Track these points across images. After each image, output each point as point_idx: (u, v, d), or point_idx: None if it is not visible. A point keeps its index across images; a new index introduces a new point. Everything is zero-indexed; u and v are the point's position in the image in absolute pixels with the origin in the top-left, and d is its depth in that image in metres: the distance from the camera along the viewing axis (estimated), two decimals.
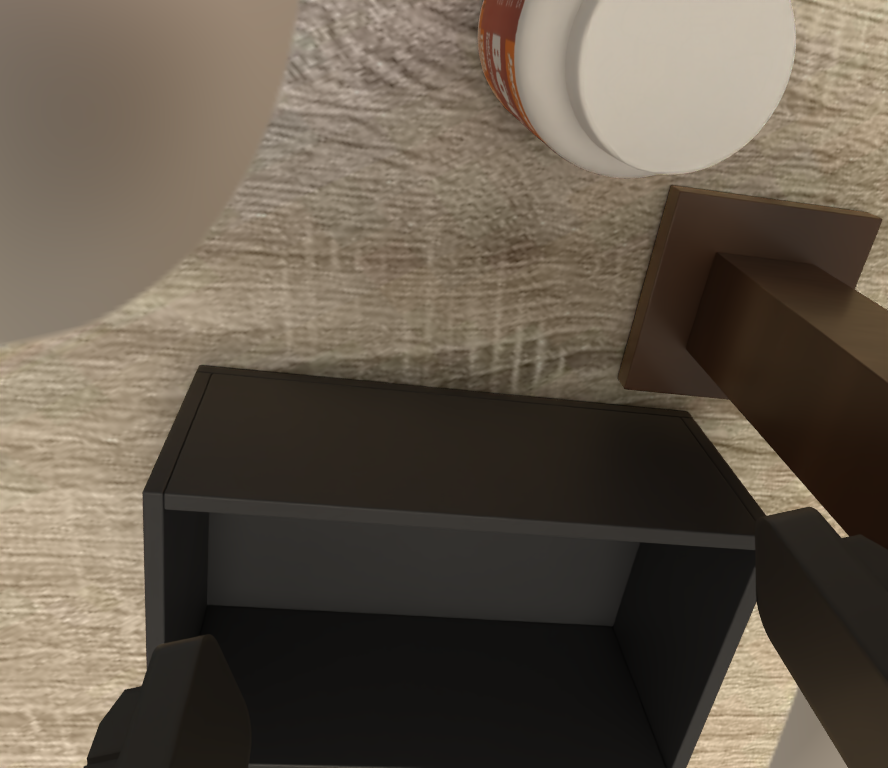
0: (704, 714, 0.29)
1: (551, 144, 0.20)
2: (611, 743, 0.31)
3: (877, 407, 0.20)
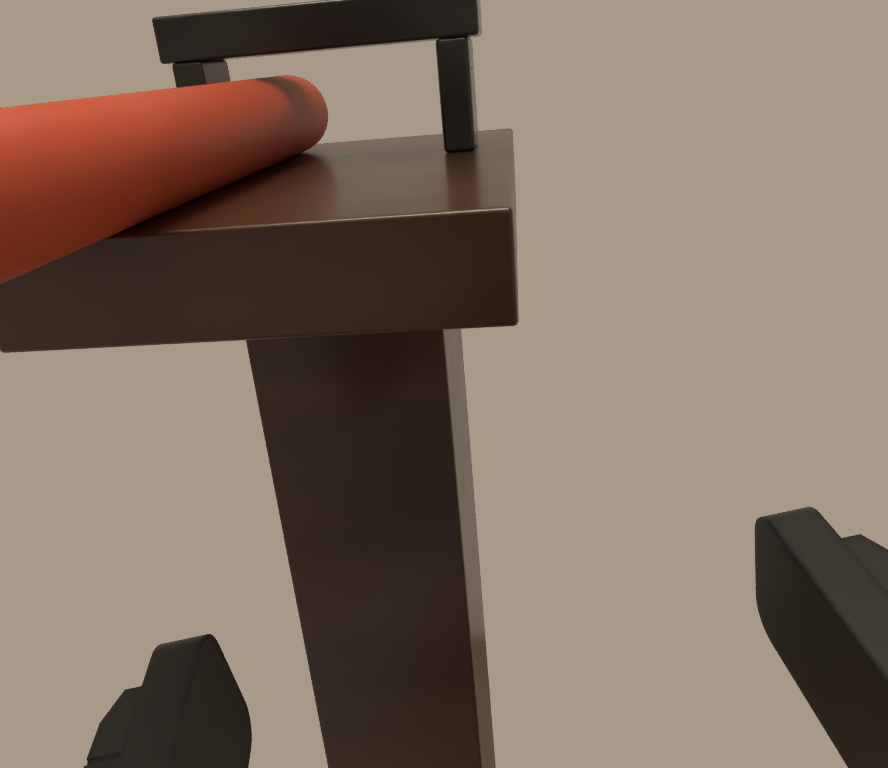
0: None
1: None
2: None
3: None
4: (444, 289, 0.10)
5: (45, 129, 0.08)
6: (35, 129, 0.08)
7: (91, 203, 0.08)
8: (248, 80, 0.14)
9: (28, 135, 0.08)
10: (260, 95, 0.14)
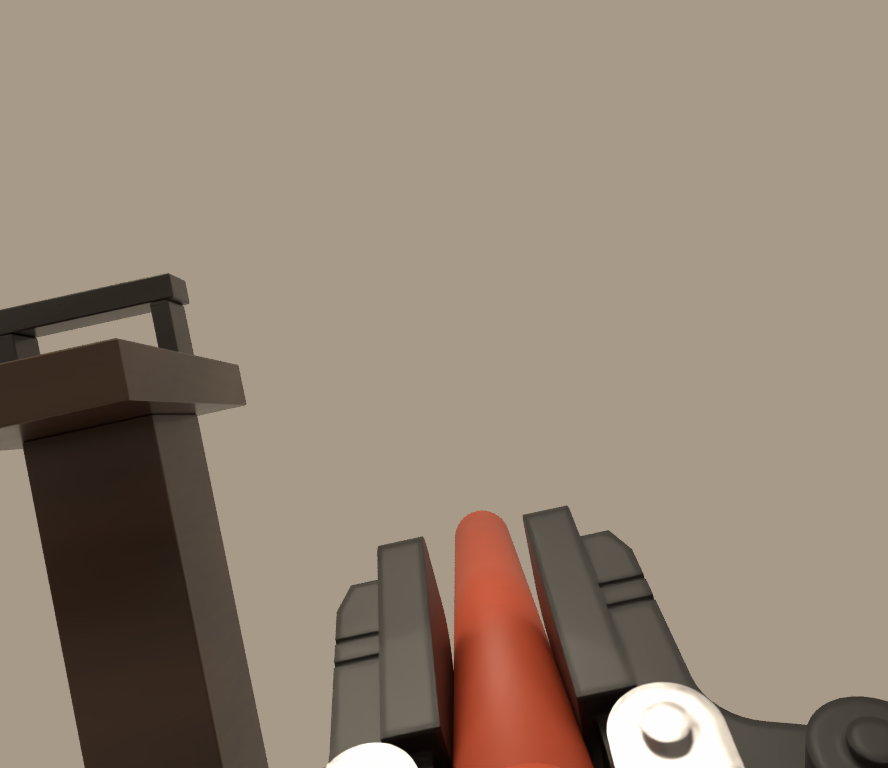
0: None
1: None
2: None
3: None
4: (87, 385, 0.18)
5: None
6: None
7: None
8: None
9: None
10: None
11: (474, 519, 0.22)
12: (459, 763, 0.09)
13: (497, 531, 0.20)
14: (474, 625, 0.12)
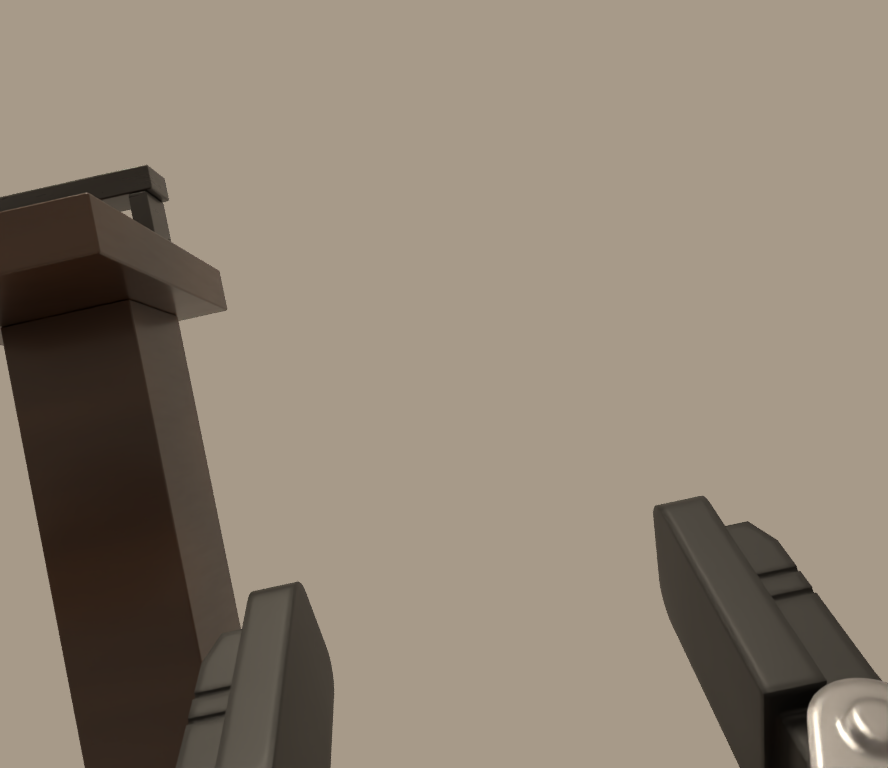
0: None
1: None
2: None
3: None
4: (59, 238, 0.18)
5: None
6: None
7: None
8: None
9: None
10: None
11: None
12: None
13: None
14: None
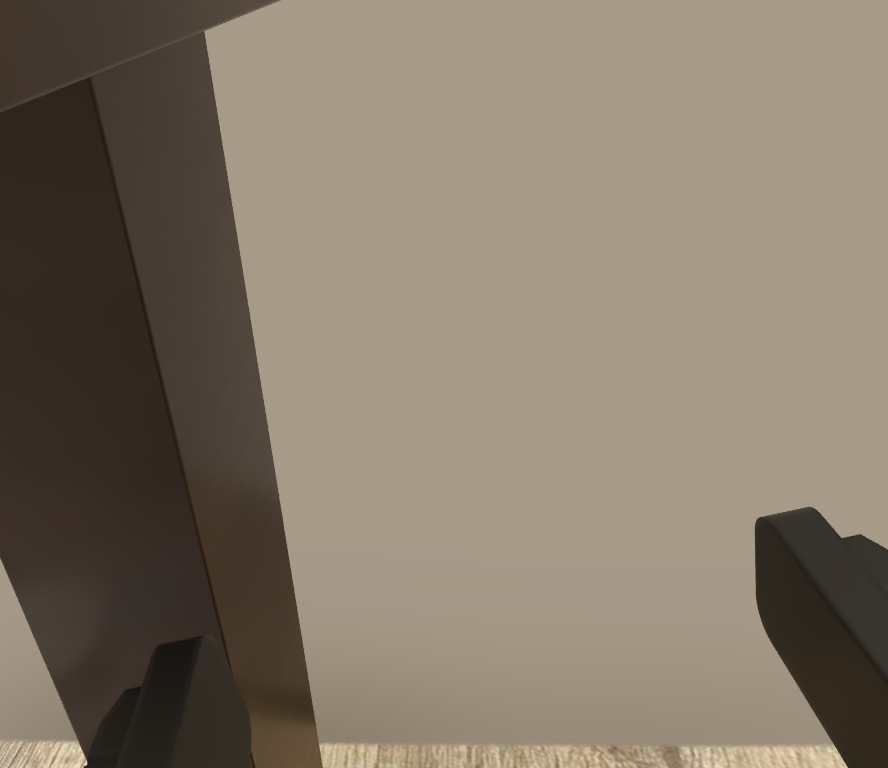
0: None
1: None
2: None
3: None
4: None
5: None
6: None
7: None
8: None
9: None
10: None
11: None
12: None
13: None
14: None
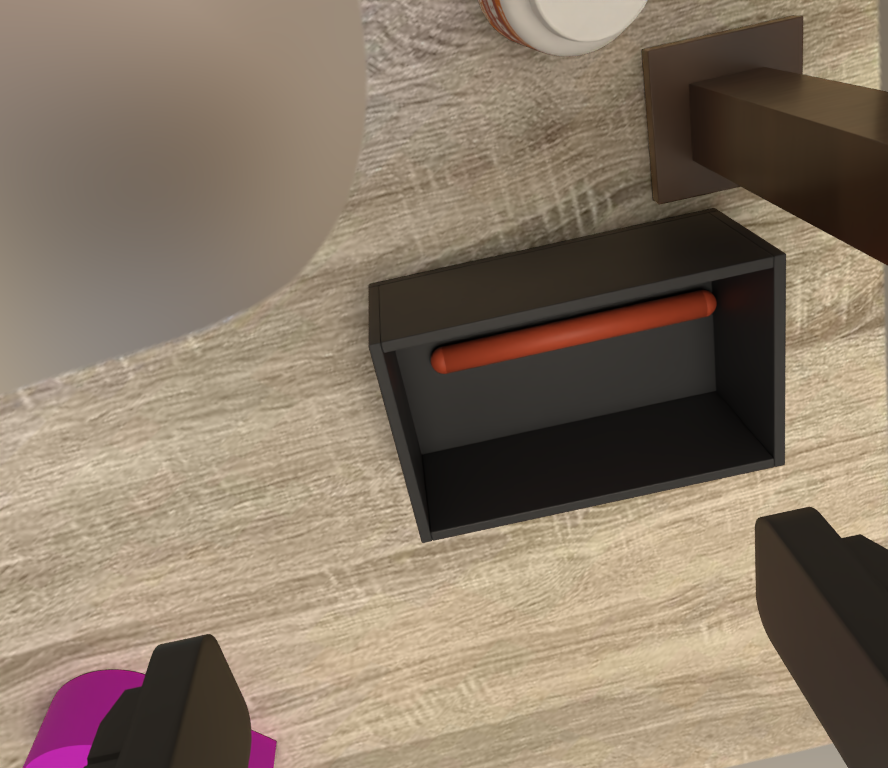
0: (781, 403, 0.41)
1: (539, 48, 0.32)
2: (728, 453, 0.43)
3: (788, 131, 0.31)
4: None
5: None
6: None
7: None
8: None
9: None
10: None
11: (685, 303, 0.45)
12: (457, 344, 0.45)
13: (656, 319, 0.45)
14: (524, 334, 0.45)
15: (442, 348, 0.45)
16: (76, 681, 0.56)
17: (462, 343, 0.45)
